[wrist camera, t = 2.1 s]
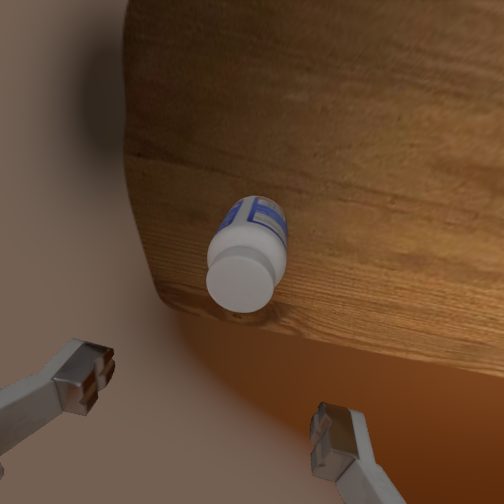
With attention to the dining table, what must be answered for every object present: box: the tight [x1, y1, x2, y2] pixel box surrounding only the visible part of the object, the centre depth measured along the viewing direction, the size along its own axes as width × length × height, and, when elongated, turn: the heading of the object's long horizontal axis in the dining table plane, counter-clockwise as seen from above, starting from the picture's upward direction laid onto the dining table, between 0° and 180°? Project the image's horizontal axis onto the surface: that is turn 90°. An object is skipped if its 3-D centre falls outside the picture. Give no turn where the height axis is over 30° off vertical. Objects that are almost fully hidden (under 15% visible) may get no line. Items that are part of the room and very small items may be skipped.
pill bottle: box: [206, 196, 287, 313], centre depth 19 cm, size 5×5×10 cm
